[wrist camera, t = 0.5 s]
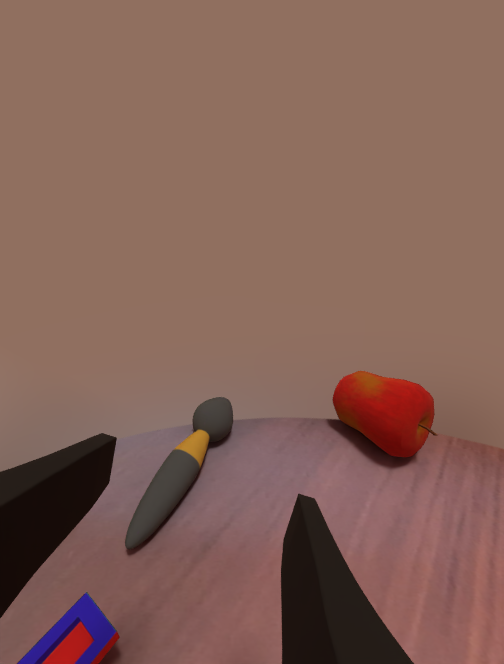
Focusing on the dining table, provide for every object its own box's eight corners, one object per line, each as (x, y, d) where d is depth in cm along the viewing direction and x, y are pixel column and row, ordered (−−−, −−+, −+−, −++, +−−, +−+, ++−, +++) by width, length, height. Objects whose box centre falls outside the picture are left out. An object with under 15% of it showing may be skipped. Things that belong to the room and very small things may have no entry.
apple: (351, 421, 44) (439, 467, 35) (315, 422, 38) (409, 478, 29) (368, 365, 43) (463, 396, 34) (335, 358, 38) (437, 393, 29)
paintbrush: (119, 552, 28) (166, 576, 28) (112, 538, 25) (166, 564, 24) (209, 396, 43) (241, 409, 42) (212, 373, 40) (247, 387, 39)
